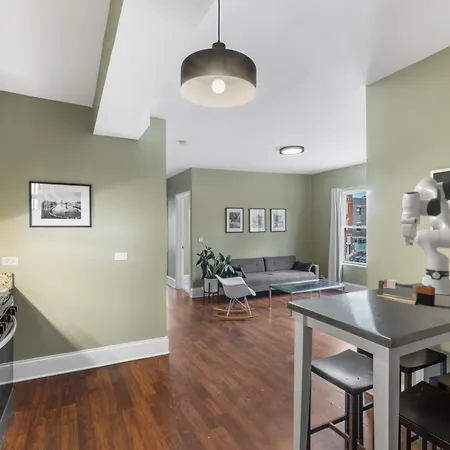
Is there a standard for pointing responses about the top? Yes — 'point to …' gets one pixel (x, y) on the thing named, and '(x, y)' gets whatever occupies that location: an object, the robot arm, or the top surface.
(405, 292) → the top surface
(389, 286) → the marker sleeve
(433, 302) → the battery
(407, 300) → the rod stand
